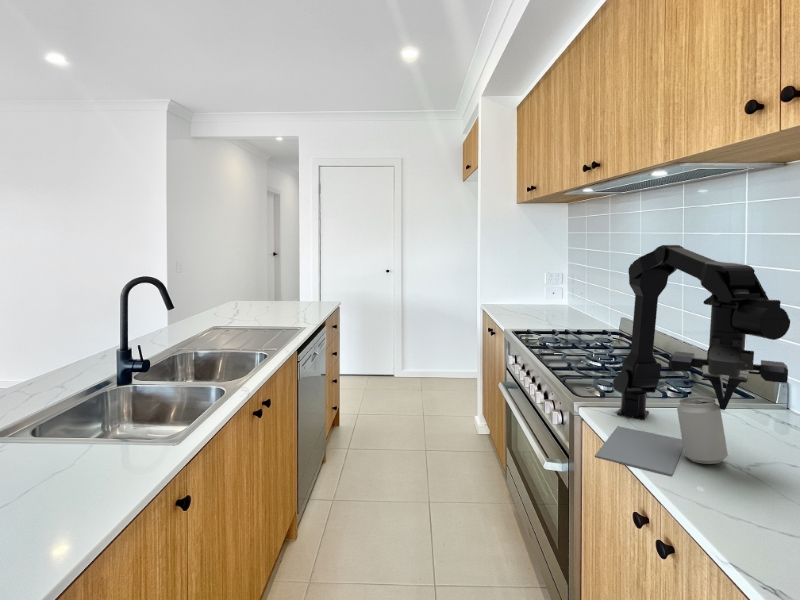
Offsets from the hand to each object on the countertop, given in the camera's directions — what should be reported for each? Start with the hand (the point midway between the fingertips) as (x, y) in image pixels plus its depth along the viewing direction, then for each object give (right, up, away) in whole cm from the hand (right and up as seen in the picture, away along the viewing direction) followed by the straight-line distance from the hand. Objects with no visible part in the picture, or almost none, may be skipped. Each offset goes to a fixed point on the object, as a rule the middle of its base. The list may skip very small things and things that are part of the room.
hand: (722, 409), depth 95 cm
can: (-2, -11, +2) cm, 11 cm away
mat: (-12, -10, +9) cm, 18 cm away
